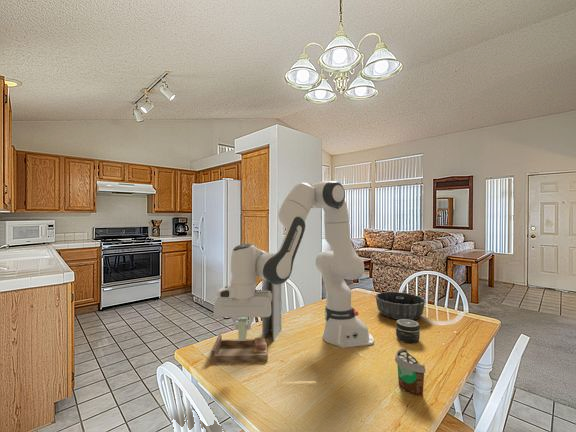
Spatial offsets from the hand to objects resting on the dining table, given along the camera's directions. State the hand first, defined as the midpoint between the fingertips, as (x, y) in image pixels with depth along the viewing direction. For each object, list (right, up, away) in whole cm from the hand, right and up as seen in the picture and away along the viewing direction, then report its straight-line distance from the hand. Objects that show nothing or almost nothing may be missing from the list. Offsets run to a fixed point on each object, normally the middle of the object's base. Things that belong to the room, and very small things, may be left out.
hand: (242, 329), depth 102 cm
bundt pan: (+79, -16, +59) cm, 99 cm away
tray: (-2, -15, +13) cm, 20 cm away
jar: (+70, -16, +27) cm, 77 cm away
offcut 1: (+5, -13, +14) cm, 19 cm away
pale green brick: (0, -3, 0) cm, 3 cm away
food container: (+55, -16, -9) cm, 57 cm away
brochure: (+9, -15, +32) cm, 36 cm away
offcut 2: (+5, -15, +13) cm, 21 cm away
